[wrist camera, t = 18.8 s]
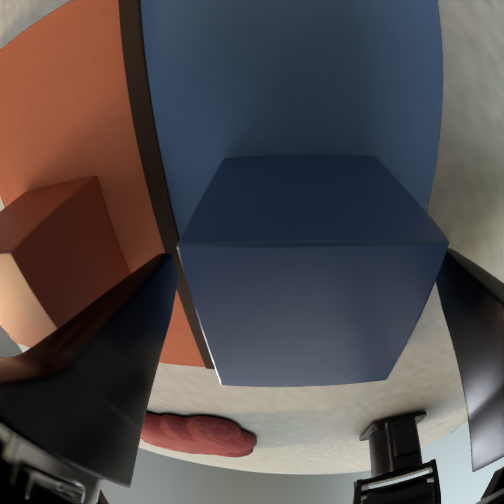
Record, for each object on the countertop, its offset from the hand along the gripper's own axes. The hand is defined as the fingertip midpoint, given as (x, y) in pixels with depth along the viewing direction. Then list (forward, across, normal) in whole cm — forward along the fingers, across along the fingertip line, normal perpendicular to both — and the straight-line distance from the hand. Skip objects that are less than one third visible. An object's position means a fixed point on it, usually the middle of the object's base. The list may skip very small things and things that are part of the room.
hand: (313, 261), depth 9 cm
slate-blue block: (+2, 0, 0) cm, 2 cm away
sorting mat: (+2, +5, 0) cm, 6 cm away
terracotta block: (+2, +10, 0) cm, 10 cm away
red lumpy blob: (+3, +12, +28) cm, 30 cm away
